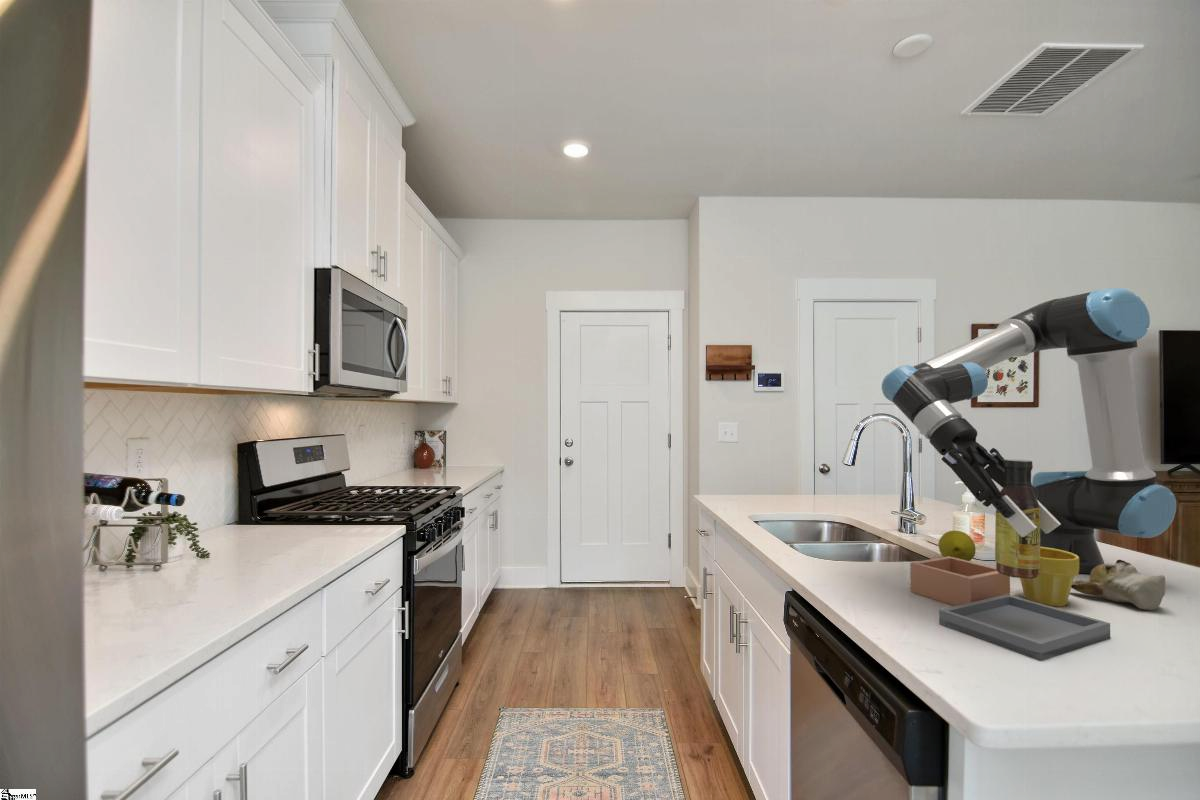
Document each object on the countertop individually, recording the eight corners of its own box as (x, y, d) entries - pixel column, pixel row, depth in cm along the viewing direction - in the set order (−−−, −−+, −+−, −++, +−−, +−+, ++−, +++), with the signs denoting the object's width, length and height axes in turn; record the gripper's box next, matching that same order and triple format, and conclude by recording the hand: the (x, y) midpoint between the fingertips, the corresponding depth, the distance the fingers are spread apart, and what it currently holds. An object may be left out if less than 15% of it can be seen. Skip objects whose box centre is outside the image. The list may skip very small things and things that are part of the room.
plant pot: (1093, 612, 106) (1092, 560, 106) (1030, 608, 108) (1030, 557, 108) (1059, 594, 116) (1059, 546, 116) (1003, 591, 118) (1003, 544, 118)
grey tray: (1007, 607, 108) (1007, 594, 108) (1110, 638, 94) (1110, 623, 94) (939, 623, 100) (939, 609, 100) (1040, 660, 85) (1040, 644, 85)
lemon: (943, 556, 146) (943, 525, 146) (979, 562, 141) (979, 529, 141) (933, 564, 138) (933, 532, 138) (970, 571, 133) (970, 537, 133)
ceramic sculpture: (1143, 569, 104) (1057, 553, 118) (1147, 617, 103) (1060, 596, 117) (1182, 565, 107) (1094, 550, 121) (1186, 612, 106) (1097, 592, 120)
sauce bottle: (1025, 582, 93) (1024, 462, 93) (986, 572, 99) (985, 459, 99) (1049, 577, 95) (1048, 460, 96) (1010, 567, 101) (1009, 457, 101)
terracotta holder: (948, 583, 123) (948, 556, 123) (1010, 601, 112) (1009, 571, 112) (910, 591, 118) (910, 562, 118) (970, 610, 107) (970, 578, 107)
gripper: (963, 441, 115) (1055, 538, 100) (899, 443, 107) (989, 548, 92) (990, 415, 111) (1091, 513, 95) (925, 415, 102) (1025, 522, 87)
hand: (1041, 530), depth 94 cm, fingers closed on sauce bottle, 6 cm apart
